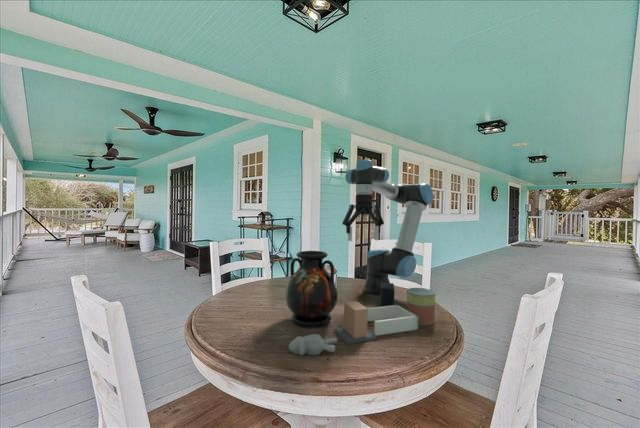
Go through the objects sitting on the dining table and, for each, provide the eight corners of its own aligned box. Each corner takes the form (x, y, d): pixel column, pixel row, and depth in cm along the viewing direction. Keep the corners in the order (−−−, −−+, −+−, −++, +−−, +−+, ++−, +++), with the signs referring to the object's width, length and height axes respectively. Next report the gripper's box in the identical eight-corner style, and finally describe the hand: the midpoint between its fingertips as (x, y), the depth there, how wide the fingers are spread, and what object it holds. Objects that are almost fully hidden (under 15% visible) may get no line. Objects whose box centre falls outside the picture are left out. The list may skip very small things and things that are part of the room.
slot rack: (396, 316, 131) (397, 304, 130) (418, 329, 117) (418, 316, 117) (358, 321, 124) (358, 309, 124) (375, 335, 111) (375, 322, 111)
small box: (394, 311, 137) (394, 288, 136) (379, 310, 138) (380, 287, 138) (393, 304, 147) (394, 282, 147) (379, 303, 148) (380, 281, 148)
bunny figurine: (293, 332, 104) (336, 330, 101) (294, 346, 104) (338, 345, 101) (285, 344, 94) (333, 342, 92) (287, 360, 95) (335, 359, 92)
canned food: (440, 321, 126) (441, 292, 125) (422, 327, 119) (423, 296, 119) (418, 313, 135) (418, 286, 135) (400, 318, 129) (401, 290, 129)
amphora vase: (275, 326, 119) (276, 254, 118) (298, 308, 139) (298, 248, 138) (327, 334, 111) (328, 258, 110) (343, 315, 131) (344, 250, 131)
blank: (356, 326, 116) (356, 301, 116) (367, 336, 108) (367, 308, 107) (344, 328, 115) (344, 302, 114) (354, 338, 106) (354, 310, 106)
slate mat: (361, 327, 118) (361, 325, 118) (375, 339, 108) (376, 336, 108) (335, 331, 114) (335, 328, 114) (347, 343, 104) (347, 340, 104)
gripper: (342, 193, 131) (341, 242, 132) (391, 194, 140) (391, 240, 140) (335, 193, 138) (335, 240, 139) (383, 194, 147) (382, 238, 147)
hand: (363, 240), depth 140 cm, fingers open, 13 cm apart
